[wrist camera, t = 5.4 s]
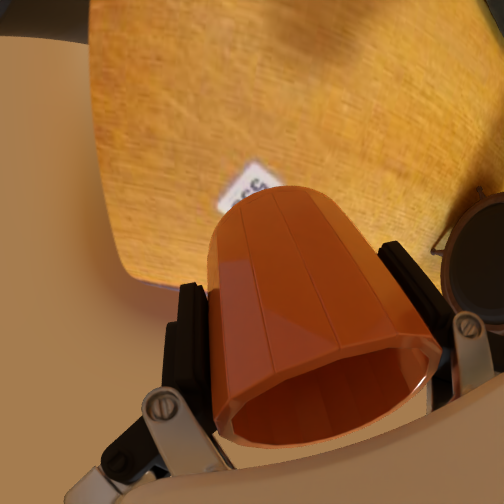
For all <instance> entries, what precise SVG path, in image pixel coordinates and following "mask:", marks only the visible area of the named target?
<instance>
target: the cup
mask: <svg viewBox="0 0 504 504" xmlns="http://www.w3.org/2000/svg"><path fill="white" fill-rule="evenodd" d="M207 282H208V327H209V355H210V376H211V394H212V410H213V421H214V423H215V426H216V428H217V431H218V433H219V435H220V436H221V437H223V438H225V439H227V440H229V441H232V442H234V443H236V444H238V445H241V446H247V447H256V448H264V449H278V448H294V447H302V446H307V445H312V444H317V443H321V442H325V441H329V440H333V439H336V438H339V437H342V436H345V435H347V434H350V433H353V432H355V431H358V430H360V429H363V428H365V427H367V426H369V425H371V424H373V423H375V422H377V421H379V420H380V419H382V418H384V417H386V416H387V415H389V414H391V413H393V412H394V411H395V410H397V409H398V408H400V407H401V406H402V405H403V404H405V403H406V402H408V401H409V400H410V399H411V398H413V397H414V396H415V395H416V394H417V393H419V391H421V389H422V388H423V387H424V386H425V385H426V384H427V382H428V381H429V380H430V379H431V377H432V376H433V375H434V374H435V372H436V371H437V369H438V366H439V362H440V359H441V355H442V352H443V351H442V347H441V345H440V344H439V342H438V341H437V339H436V337H435V336H434V334H433V333H432V331H431V329H430V328H429V326H428V325H427V323H426V322H425V320H424V319H423V317H422V315H421V314H420V312H419V311H418V309H417V308H416V306H415V305H414V303H413V302H412V301H411V299H410V298H409V296H408V295H407V293H406V292H405V290H404V289H403V288H402V286H401V285H400V283H399V282H398V281H397V279H396V278H395V276H394V275H393V274H392V272H391V271H390V270H389V268H388V267H387V265H386V264H385V263H384V261H383V260H382V259H381V257H380V256H379V255H378V254H377V252H376V251H375V250H374V248H373V247H372V246H371V244H370V243H369V242H368V241H367V239H366V238H365V237H364V236H363V234H362V233H361V232H360V231H359V229H358V228H357V227H356V226H355V224H354V223H353V222H352V221H351V219H350V218H349V217H348V216H347V215H346V214H345V213H344V212H343V211H342V209H341V208H340V207H339V206H338V205H337V204H336V203H335V202H334V201H333V200H332V199H331V198H329V197H328V196H326V195H325V194H323V193H320V192H318V191H316V190H313V189H310V188H306V187H300V186H279V187H272V188H268V189H264V190H261V191H259V192H256V193H254V194H252V195H250V196H248V197H246V198H244V199H243V200H241V201H240V202H238V203H237V204H236V205H234V206H233V207H232V208H231V209H230V210H229V211H228V212H227V213H226V214H225V215H224V216H223V218H222V219H221V220H220V222H219V223H218V225H217V226H216V228H215V230H214V232H213V235H212V237H211V241H210V244H209V252H208V258H207Z"/></svg>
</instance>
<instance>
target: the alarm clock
mask: <svg viewBox="0 0 504 504" xmlns="http://www.w3.org/2000/svg"><path fill="white" fill-rule="evenodd" d="M477 192H479V195H480V201H479V202H477V203H476V204H474V205H473V206H472V207H471V208H470V209H469V210H468V211H466V213H465V214H464V215H463V216H462V217H461V218H460V220H459V221H458V222H457V224H456V225H455V227H454V229H453V230H452V232H451V234H450V236H449V238H448V241H447V243H446V246H445V249H444V250H435V249H432V250H431V254H432V255H435V254H436V255H439V256H442V262H441V275H440V278H441V289H442V295H443V297H444V298H445V300H446V301H447V302H448V304H449V305H450V306H451V308H452V309H453V311H454V313H455V314H457V313H459V312H461V311H469V312H473V313H475V314H476V315H478V316H479V317H480V318H481V319H482V321H483V323H484V325H485V329H486V330H487V331H490V332H493V333H496V334H499V335H501V336H504V192H500V193H496V194H493V195H490V196H488V197H485V195H484V193H483V192H482V187H481V186H478V187H477Z"/></svg>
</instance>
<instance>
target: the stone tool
mask: <svg viewBox="0 0 504 504" xmlns="http://www.w3.org/2000/svg"><path fill="white" fill-rule="evenodd" d="M486 1H487V4H488V6H489V9H490V11H491V13H492V15H493V17H494V19H495V20H496V23H497V25H498V28H499V30H500V31H501V33H502V36H503V37H504V0H486Z"/></svg>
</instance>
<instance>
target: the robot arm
mask: <svg viewBox="0 0 504 504" xmlns="http://www.w3.org/2000/svg"><path fill="white" fill-rule="evenodd" d="M378 255H379V256H380V257H381V259H382V260H383V261H384V263H385V264H386V265H387V267H388V268H389V270H390V271H391V272H392V274H393V275H394V276H395V278H396V279H397V281H398V282H399V283H400V285H401V286H402V288H403V289H404V290H405V292H406V293H407V295H408V296H409V298H410V299H411V301H412V302H413V303H414V305H415V306H416V308H417V309H418V311H419V312H420V314H421V315H422V317H423V319H424V320H425V322H426V323H427V325H428V326H429V328H430V329H431V331H432V333H433V334H434V336H435V337H436V339H437V341H438V342H439V344H440V345H441V347H442V351H443V352H442V355H441V359H440V362H439V366H438V369H437V371H436V372H435V374H434V375H433V376H432V377H431V379H430V380H429V381H428V382H427V413H426V415H425V416H423V417H421V418H419V419H417V420H414V421H412V422H410V423H408V424H405V425H403V426H401V427H398V428H396V429H393V430H391V431H388V432H386V433H384V434H381V435H378V436H375V437H372V438H370V439H367V440H364V441H361V442H358V443H355V444H352V445H349V446H346V447H343V448H339V449H335V450H332V451H328V452H325V453H321V454H317V455H313V456H309V457H305V458H301V459H296V460H291V461H286V462H281V463H276V464H270V465H264V466H258V467H251V468H244V469H237V468H236V466H235V465H234V464H233V462H232V461H231V459H230V458H229V457H228V455H227V454H226V452H225V451H224V449H223V448H222V446H221V445H220V443H219V442H218V440H217V439H216V437H215V436H214V434H213V433H214V432H215V431H216V430H217V428H216V426H215V423H214V421H213V410H212V394H211V376H210V355H209V327H208V300H207V298H206V295H205V292H204V289H203V287H202V285H199V286H197V284H196V282H193V283H188V284H183V285H180V292H179V304H178V317H177V321H175V322H170V323H168V324H167V327H166V335H165V346H164V358H163V371H162V386H161V387H159V388H156V389H154V390H152V391H151V392H149V393H148V394H147V395H146V397H145V398H144V400H143V402H142V408H141V410H142V414H143V415H142V416H141V417H140V418H139V419H138V420H137V421H136V422H135V423H134V424H133V425H131V426H130V427H129V428H128V429H127V430H126V431H125V432H124V433H123V434H122V435H121V436H119V437H118V438H117V439H116V440H115V441H114V442H113V443H112V444H110V445H109V446H108V447H107V448H106V450H105V451H104V452H103V454H102V457H101V464H100V465H99V466H98V467H96V466H94V467H93V468H92V469H91V470H90V471H89V472H88V473H87V474H86V475H85V476H84V477H83V478H82V479H81V480H80V481H78V482H77V483H76V484H75V485H74V486H73V487H72V488H71V489H70V490H69V491H68V492H67V493H66V495H65V496H64V504H504V336H501V335H499V334H496V333H493V332H490V331H487V330H486V329H485V325H484V323H483V321H482V319H481V318H480V317H479V316H478V315H476V314H475V313H473V312H469V311H461V312H459V313H457V314H455V313H454V311H453V309H452V308H451V306H450V305H449V304H448V302H447V301H446V300H445V298H444V297H443V296H442V294H441V293H440V292H439V291H438V289H437V288H436V287H435V285H434V284H433V283H432V282H431V280H430V279H429V278H428V277H427V275H426V274H425V273H424V272H423V270H422V269H421V268H420V267H419V266H418V264H417V263H416V262H415V261H414V260H413V258H412V257H411V256H410V255H409V254H408V253H407V251H406V250H405V249H404V248H403V247H402V246H401V244H400V243H399V242H398V241H391V242H387V243H383V245H382V247H381V248H379V251H378ZM171 475H172V477H170V476H171Z"/></svg>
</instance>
